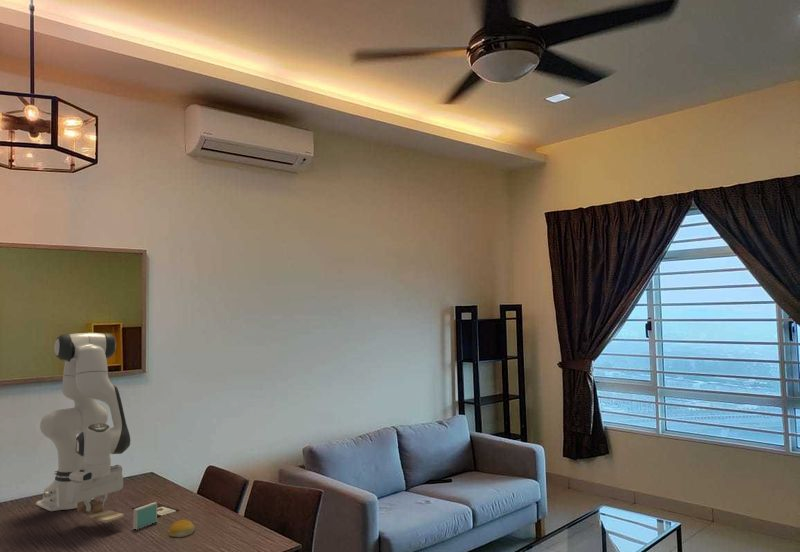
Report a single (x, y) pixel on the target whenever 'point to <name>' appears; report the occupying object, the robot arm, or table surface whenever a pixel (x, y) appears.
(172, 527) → the bread roll
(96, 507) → the brown flat knobbed piece
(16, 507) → the table surface
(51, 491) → the robot arm
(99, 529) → the table surface
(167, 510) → the chocolate bar
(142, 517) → the tile
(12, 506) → the table surface
